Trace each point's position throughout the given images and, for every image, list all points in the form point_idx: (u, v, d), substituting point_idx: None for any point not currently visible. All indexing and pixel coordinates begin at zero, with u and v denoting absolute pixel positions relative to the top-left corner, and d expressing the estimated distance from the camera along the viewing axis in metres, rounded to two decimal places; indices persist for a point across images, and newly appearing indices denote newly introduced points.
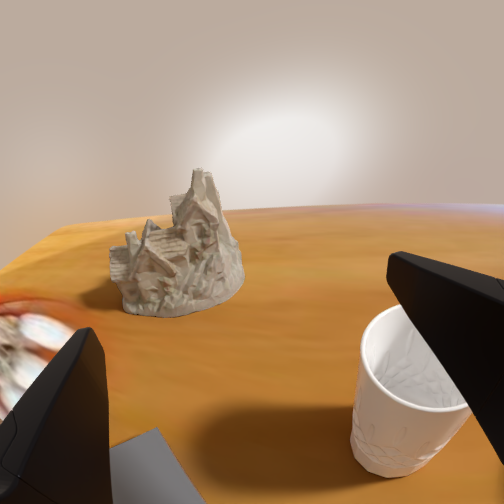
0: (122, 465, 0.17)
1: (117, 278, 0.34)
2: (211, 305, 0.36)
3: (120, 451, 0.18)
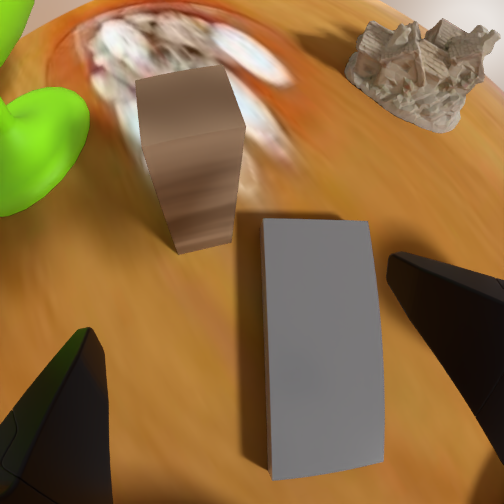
0: (324, 243, 0.23)
1: (365, 50, 0.27)
2: (427, 128, 0.30)
3: (327, 227, 0.23)
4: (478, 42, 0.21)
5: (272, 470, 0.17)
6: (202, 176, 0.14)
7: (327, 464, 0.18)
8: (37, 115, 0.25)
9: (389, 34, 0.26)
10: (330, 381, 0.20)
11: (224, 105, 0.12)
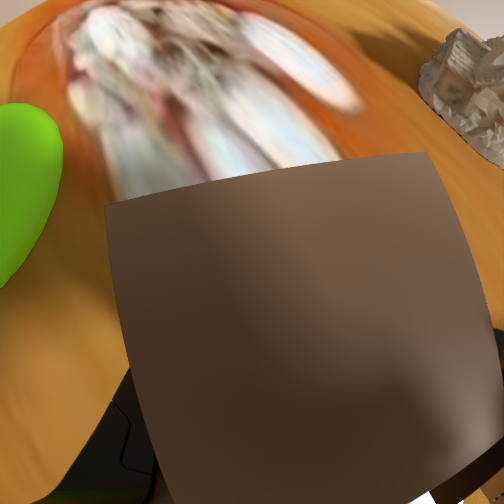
0: None
1: (455, 67, 0.18)
2: None
3: None
4: None
5: None
6: None
7: None
8: None
9: (482, 49, 0.16)
10: None
11: (470, 363, 0.03)
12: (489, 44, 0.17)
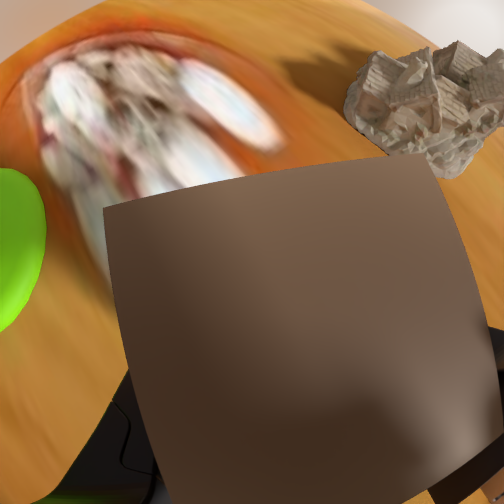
0: None
1: (371, 91, 0.24)
2: (438, 176, 0.27)
3: None
4: None
5: None
6: None
7: None
8: None
9: (399, 68, 0.22)
10: None
11: (466, 364, 0.03)
12: (411, 58, 0.23)
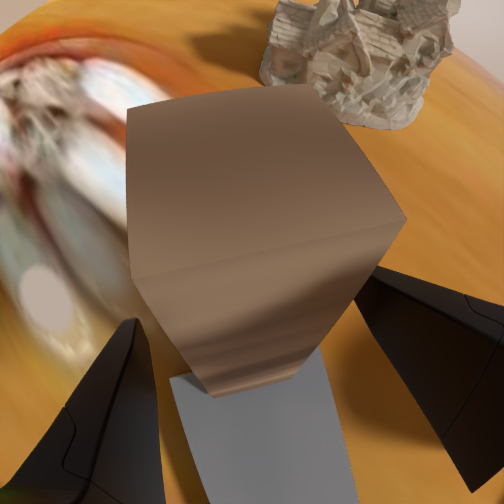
0: (259, 392, 0.16)
1: (279, 43, 0.20)
2: (382, 127, 0.24)
3: None
4: (438, 0, 0.14)
5: None
6: (278, 322, 0.07)
7: None
8: None
9: (309, 12, 0.18)
10: None
11: (342, 163, 0.05)
12: None
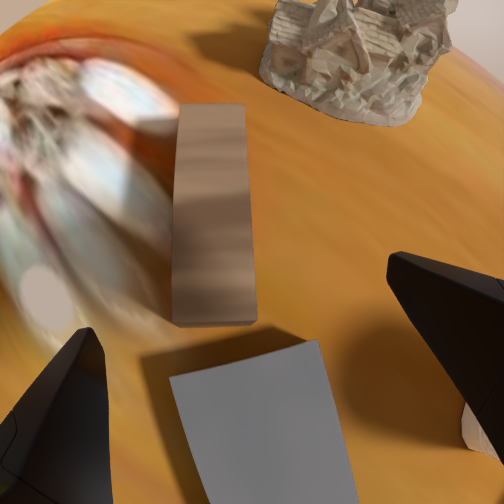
0: (259, 391, 0.16)
1: (279, 40, 0.20)
2: (382, 124, 0.24)
3: (259, 368, 0.16)
4: None
5: None
6: (215, 141, 0.18)
7: None
8: None
9: (309, 10, 0.19)
10: None
11: None
12: None
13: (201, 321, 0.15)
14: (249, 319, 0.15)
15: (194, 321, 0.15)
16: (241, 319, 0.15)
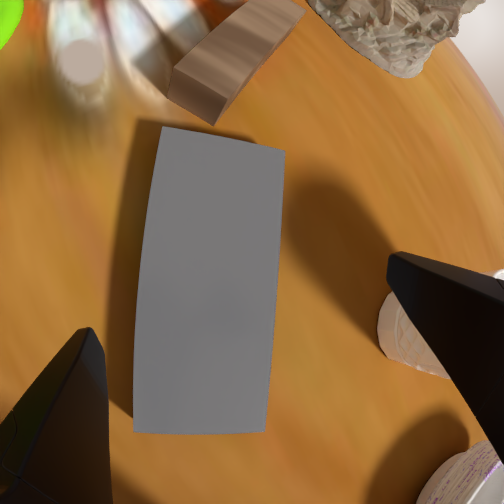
0: (227, 164, 0.19)
1: None
2: (383, 67, 0.28)
3: (234, 148, 0.19)
4: None
5: (133, 420, 0.16)
6: (274, 13, 0.20)
7: (197, 423, 0.17)
8: None
9: None
10: (207, 326, 0.18)
11: None
12: None
13: (191, 78, 0.17)
14: (222, 95, 0.18)
15: (187, 75, 0.17)
16: (217, 92, 0.18)
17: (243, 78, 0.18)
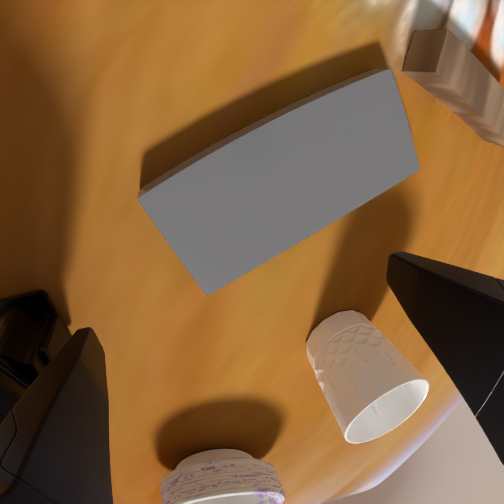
0: (390, 134, 0.20)
1: None
2: None
3: (403, 131, 0.20)
4: None
5: (148, 191, 0.18)
6: None
7: (181, 241, 0.19)
8: None
9: None
10: (269, 195, 0.19)
11: None
12: None
13: (443, 43, 0.16)
14: (436, 68, 0.16)
15: (444, 39, 0.15)
16: (438, 64, 0.16)
17: (452, 86, 0.17)
